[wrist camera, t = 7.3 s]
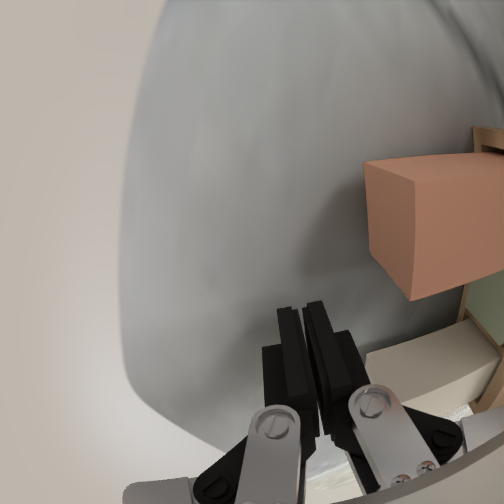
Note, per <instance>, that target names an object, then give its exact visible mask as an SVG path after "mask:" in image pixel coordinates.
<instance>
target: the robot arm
mask: <svg viewBox="0 0 504 504" xmlns="http://www.w3.org/2000/svg"><path fill="white" fill-rule="evenodd" d="M302 313H303V320H304V327H305V334H306V342H307V347H306V342H305V338H304V334H303V330H302V325H301V321H300V317H299V313H298V309H295V310H292V308H291V306H290V307H285V308H279V309H277V315H278V323H279V330H280V337H281V344H277V345H271V346H265V347H262V360H263V380H264V400H265V408H263V409H261V410H260V411H258V412H257V413H256V414H255V415H254V417H253V418H252V420H251V423H250V427H249V433H248V435H247V436H246V437H245V438H244V439H243V440H242V441H241V442H239V443H238V444H237V445H236V446H235V447H234V448H232V449H231V450H230V451H229V452H228V453H227V454H226V455H224V456H223V457H222V458H221V459H219V460H218V461H217V462H216V463H214V464H213V465H212V466H211V467H209V468H208V469H207V470H206V471H204V472H203V473H202V474H200V476H199V477H195V478H188V477H183V478H175V479H167V480H158V481H148V482H136V483H132V484H130V485H129V486H128V487H126V489H125V490H124V492H123V498H122V499H123V504H305V493H306V478H307V459H308V458H309V457H310V456H311V455H312V454H313V453H314V452H315V450H316V443H315V437H319V436H320V429H319V416H318V405H319V410H320V415H321V420H322V425H323V430H324V434H325V435H329V434H330V435H331V440H332V441H334V443H335V446H337V447H339V448H341V449H343V450H345V454H346V456H347V459H348V461H349V463H350V466H351V468H352V470H353V473H354V475H355V477H356V480H357V482H358V484H359V487H360V488H361V491H362V493H363V496H361V497H358V498H353V499H349V500H345V501H341V502H337V503H332V504H504V405H502V406H499V407H496V408H493V409H490V410H487V411H484V412H481V413H477V414H474V415H471V416H468V417H463V418H461V419H460V421H456V422H453V421H451V420H447V419H444V418H441V417H437V416H434V415H431V414H428V413H425V412H422V411H419V410H416V409H413V408H410V407H407V406H404V405H401V403H400V402H399V400H398V399H397V397H396V396H395V394H394V393H393V392H392V391H391V390H390V389H389V388H387V387H385V386H383V385H379V384H371V382H370V380H369V377H368V375H367V372H366V370H365V367H364V365H363V362H362V360H361V357H360V355H359V352H358V350H357V348H356V345H355V343H354V341H353V338H352V336H351V334H350V332H349V330H344V331H340V332H335V333H334V332H333V329H332V327H331V324H330V321H329V318H328V316H327V313H326V310H325V308H324V305H323V302H322V300H319V301H314V302H310V303H307V307H305V308H302ZM307 350H308V351H307ZM317 401H318V404H317Z"/></svg>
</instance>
